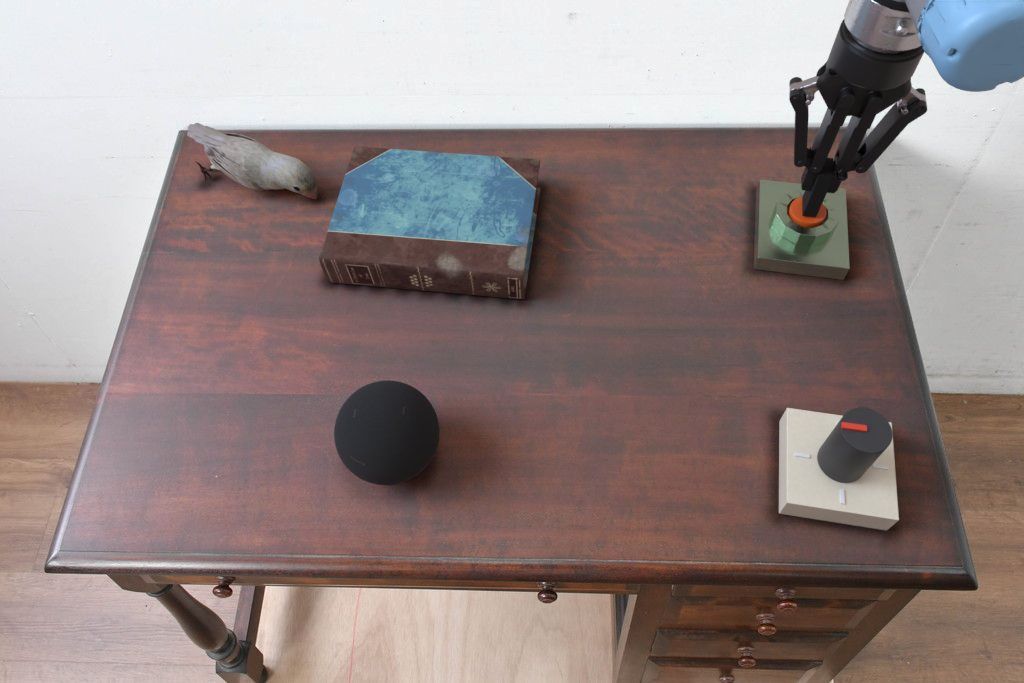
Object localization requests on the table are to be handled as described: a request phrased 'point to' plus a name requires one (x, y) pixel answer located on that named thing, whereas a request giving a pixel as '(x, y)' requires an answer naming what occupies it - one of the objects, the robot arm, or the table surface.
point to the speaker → (386, 432)
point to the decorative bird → (252, 162)
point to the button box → (799, 234)
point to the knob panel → (819, 494)
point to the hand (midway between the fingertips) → (809, 207)
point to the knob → (854, 444)
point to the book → (434, 222)
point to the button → (805, 221)
